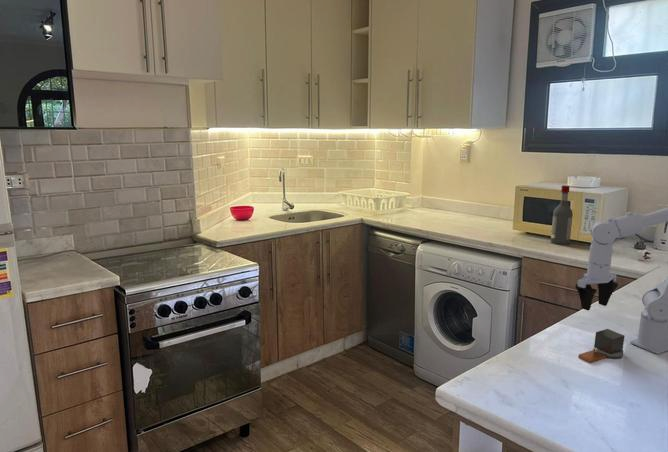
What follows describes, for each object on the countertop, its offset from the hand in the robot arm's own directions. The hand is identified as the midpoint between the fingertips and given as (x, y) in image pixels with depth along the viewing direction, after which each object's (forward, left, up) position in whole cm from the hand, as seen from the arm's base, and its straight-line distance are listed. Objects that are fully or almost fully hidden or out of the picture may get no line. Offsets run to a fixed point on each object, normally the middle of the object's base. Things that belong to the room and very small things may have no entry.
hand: (594, 307), depth 145 cm
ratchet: (+8, +9, -10) cm, 15 cm away
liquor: (-90, -83, -10) cm, 123 cm away
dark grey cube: (+5, +9, -8) cm, 13 cm away
